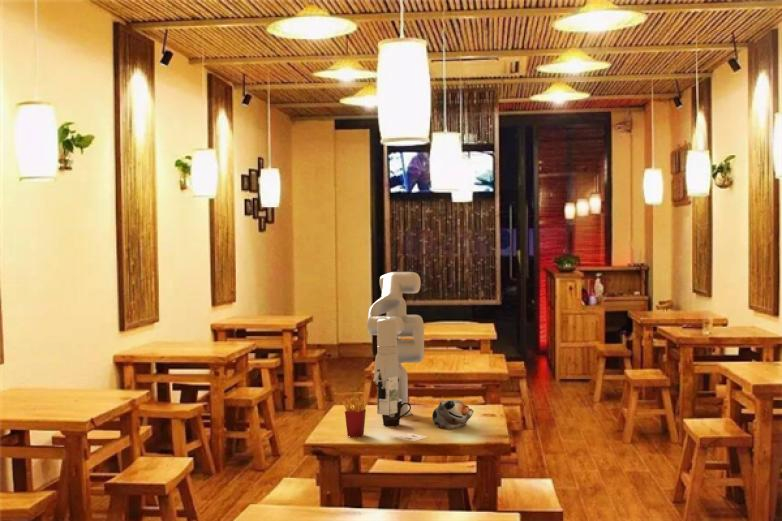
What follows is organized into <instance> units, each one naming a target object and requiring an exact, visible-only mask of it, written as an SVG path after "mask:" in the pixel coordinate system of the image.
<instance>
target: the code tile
mask: <svg viewBox="0 0 782 521" xmlns="http://www.w3.org/2000/svg"><path fill="white" fill-rule="evenodd" d="M427 438H428V436H426V435H420V434H415V433H406V434H403V435H401V436H400V435H399V436H396V437H395V439H398V440H403V441H409V442H417V441H421V440H423V439H427Z"/></svg>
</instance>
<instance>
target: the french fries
mask: <svg viewBox="0 0 782 521" xmlns="http://www.w3.org/2000/svg"><path fill="white" fill-rule="evenodd" d="M345 400H346V401H345ZM345 400H343V401H342V405H343V406H344V408H345V411H344V415H345V423H346V432H347V434H346V435H347V437H348V436H350V437H349V438H358V437H360V438H361V437H362V435H363V436H364V433H365V423H366V412H367V411H366V410H367V409H366V407H367V400H366V399H365V397H364V396H362V395H361V396H360V399H359V397H356V396H353V397H351V398H350V399H349V398H346V399H345ZM353 400H354V404H352V401H353ZM360 400H361V402H360ZM346 402H347V403H346Z"/></svg>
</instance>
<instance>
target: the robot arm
mask: <svg viewBox="0 0 782 521" xmlns="http://www.w3.org/2000/svg"><path fill="white" fill-rule="evenodd" d="M421 283H422V282H421V277H420V275H419V274H418V273H417V272H414V271H390V272H387V273H385V274H383V275H381V276H380V277H379V287H380V291H381V296H380V297H379V298H378V299H377V300H375V302H374V303H372V304H371V306H370V307H369V309H368V313H367V320H366V330H367V333H368V334H370V335H372V336H376V345H377V346H376V348H377V349H376V350H377V353H376V355H375V360H374V372H373V379H372V381H373V383H374V384H375V386H376V388H377V396H378V398H379V399H386V389H384V387H385V383H386V381H387V378H389V377H394V376H397V377H398V399H401V400H402V403H401V404H403V403H409V402H408V401H409V400H408V397H409V396H408V395H409V393H408V388H409V387H408V386H409V385H408V382H409V381H408V371H407V370H406V368H405V367H404V365H403V364H405V363H408V364H409V363H410V364H411V363H412V364H413V363H417V364H418V363H422V362H423V360H424V357H425V328H424V327H425V325H424V320H423V317H422V316H421V315H419V314H407V302H406V300H405V299H404V297H403V294H417V293H418V292H419V291H420V290H421ZM383 314H386V315H383ZM398 338H411V339H410V340H409V339H408V340H407V339H398ZM378 379H379V380H378ZM381 379H382V380H381ZM381 382H382V384H381ZM408 410H409V405H408V404H405V405H403V406H402V408H401V412H400V416H402V415H403V414H405V413H406V412H407V411H408ZM411 414H412V410H410V411H409V412H408V413H407V414H406V415H404V416H403V417H408V416H410V415H411Z"/></svg>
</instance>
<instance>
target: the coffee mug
mask: <svg viewBox="0 0 782 521" xmlns="http://www.w3.org/2000/svg"><path fill="white" fill-rule="evenodd" d="M401 403H402V400H401V399H398V413H396V414H392V415H382V414H381V418H382V423H383V424H382V425H383V426H384V425H385V426H384V427H388V426H394V427H399V426H400V421H401V419H402V418H403V417H405V416H404V415H406V414H407V413H408V412H409V411H412V410H411V409H412V405H411V404H410V403H409V402H408V403H403V404H401ZM405 404H408V407H409V408H408V411H407V412H406V413H405V414H403V415H402V416H400V412H401V408H402V406H403V405H405ZM398 425H399V426H398Z"/></svg>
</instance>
